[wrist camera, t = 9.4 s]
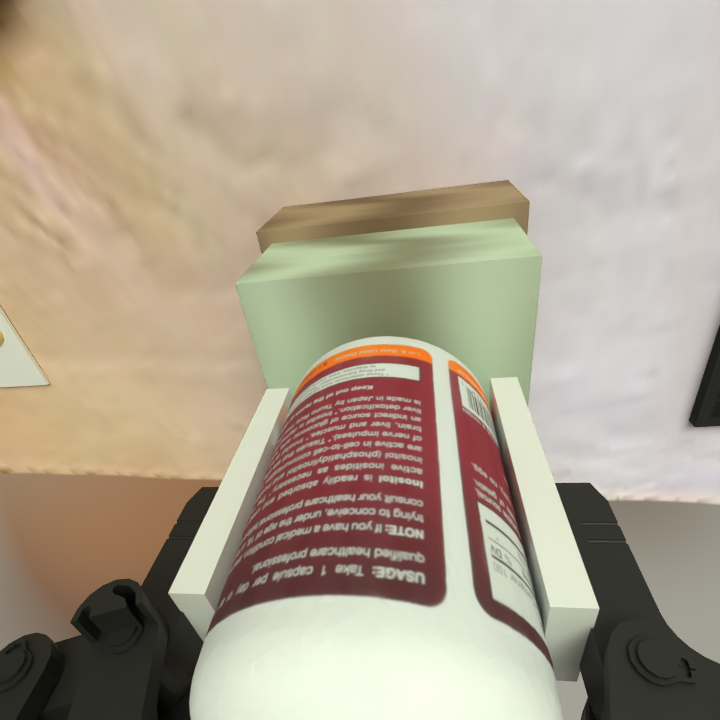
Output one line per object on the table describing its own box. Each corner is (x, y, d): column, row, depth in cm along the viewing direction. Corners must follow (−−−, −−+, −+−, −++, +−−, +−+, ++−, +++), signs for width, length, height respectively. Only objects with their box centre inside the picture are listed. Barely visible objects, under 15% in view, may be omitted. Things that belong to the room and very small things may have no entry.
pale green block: (322, 382, 25) (288, 491, 18) (283, 207, 19) (214, 269, 13) (499, 373, 23) (533, 489, 16) (508, 180, 18) (564, 235, 11)
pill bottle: (276, 441, 15) (62, 995, 6) (331, 295, 12) (31, 1057, 3) (434, 496, 16) (462, 1070, 7) (528, 373, 12) (855, 1195, 3)
